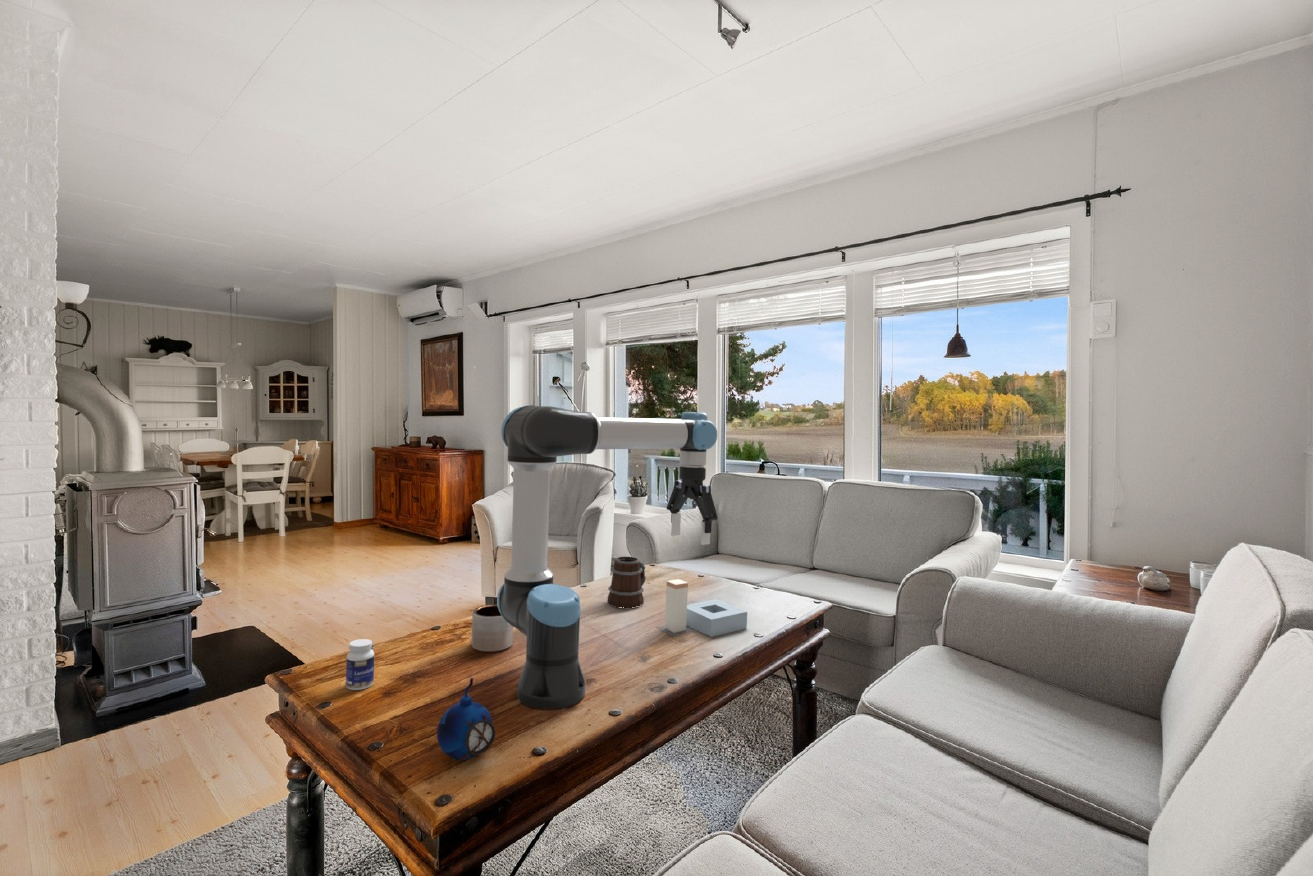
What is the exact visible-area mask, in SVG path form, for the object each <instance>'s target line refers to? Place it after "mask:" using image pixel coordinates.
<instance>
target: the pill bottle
mask: <svg viewBox="0 0 1313 876" xmlns="http://www.w3.org/2000/svg"><path fill="white" fill-rule="evenodd" d="M348 646H349V647H348V650H349V652H347V655H346V661H345V662H346V665H345V666H346V667H345V669H346V670H345V687H346V689H348V690H351V691H362V690H365V689H368V688H370V687H371V686H373V685H374V682H375V681H374V678H375V652H374V650H373V649H372V647H373V641H372V640H371V639H369V638H368V639H367V638H359V639H355V640H352V641H350V642H349V644H348Z"/></svg>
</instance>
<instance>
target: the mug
mask: <svg viewBox="0 0 1313 876" xmlns="http://www.w3.org/2000/svg"><path fill="white" fill-rule="evenodd" d="M610 570H611V572H612V577H611V584H610V586H609V587H608V591H609V593H608V595H607V604H608V605H609V604H610V605H613V606H616V607H615V608H617V607H622V608H621V609H626V608H631V609H633V608H632V607H636V606H640V605H641V604H642V605H643V604H644V601H645V598H644V595H643V592H644V588H643V586H644V584H645V582H646V578H647V577H646V576H645V575H646V574H645V570H646V566H645V565H644V563H643V562H642V561H640V560H639V559H638V557H634V556H618V557H616V558H615V560H614V563H613V566H612V567H611V569H610ZM610 605H609V606H610ZM642 605H641V606H642ZM613 606H612V607H613ZM641 606H640V607H641ZM623 607H624V608H623ZM636 608H637V607H636Z"/></svg>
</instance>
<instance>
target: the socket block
mask: <svg viewBox="0 0 1313 876" xmlns="http://www.w3.org/2000/svg"><path fill="white" fill-rule="evenodd" d="M747 626H748V611H747V610H744V609H742V608H740V607H737V606H734V605H732V604H729V603H727V602H725V601H722V600H720V599H716V598H715V599H710V600H704V601H700V602H695V603H689V604H687V619H686V627H688V628H689V627H690V629H692V630H694V631H695V630H696V631H697V632H700V633H702V634H704V635H706V636H708V637H710V638H711V637H712V638H713V637H716V636H721V635H725V634H730V633H734V632H738V631H742V630H746V628H747V629H748V627H747Z"/></svg>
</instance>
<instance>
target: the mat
mask: <svg viewBox="0 0 1313 876" xmlns="http://www.w3.org/2000/svg"><path fill="white" fill-rule="evenodd" d="M656 629H659V630H661V631H662V632H664V633H666V634H667V635H670V636H672V637H674V636H675V637H676V636H680V635H684V634H688V633H692V632H695V629H693V628H691V627H690V628H689V626H686V630H685V631H680V632H676V633H673V632H671V631H670V630H668V629H666V628H665V625H662V626H656Z"/></svg>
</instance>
